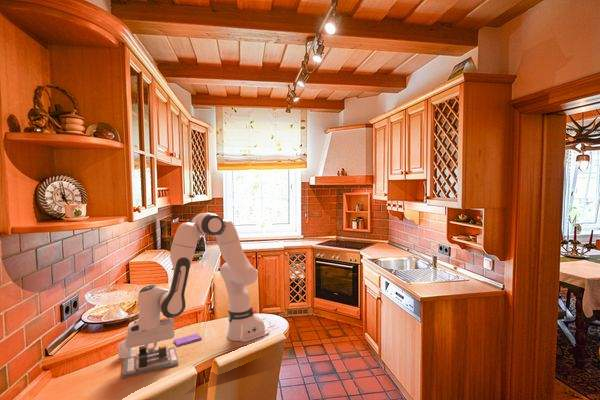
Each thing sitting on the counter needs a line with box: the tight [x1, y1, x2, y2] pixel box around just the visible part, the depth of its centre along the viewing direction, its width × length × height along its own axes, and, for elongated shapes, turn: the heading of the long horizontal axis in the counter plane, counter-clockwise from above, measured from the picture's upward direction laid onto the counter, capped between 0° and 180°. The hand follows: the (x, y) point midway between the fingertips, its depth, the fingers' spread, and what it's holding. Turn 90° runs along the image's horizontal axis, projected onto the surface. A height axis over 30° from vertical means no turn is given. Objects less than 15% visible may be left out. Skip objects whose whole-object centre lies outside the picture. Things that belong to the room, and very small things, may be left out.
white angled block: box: [117, 339, 136, 359], centre depth 153 cm, size 4×10×9 cm
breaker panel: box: [121, 345, 179, 379], centre depth 146 cm, size 22×16×6 cm
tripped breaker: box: [158, 344, 167, 358], centre depth 148 cm, size 3×3×5 cm
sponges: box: [173, 332, 203, 347], centre depth 168 cm, size 7×13×2 cm, turn 126°
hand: (151, 352), depth 146 cm, fingers closed
